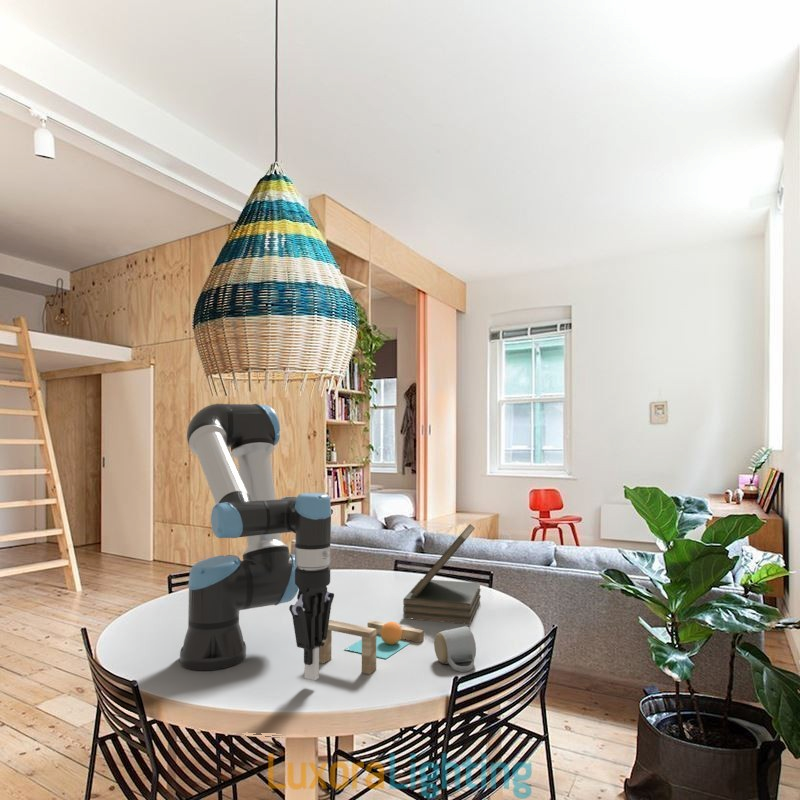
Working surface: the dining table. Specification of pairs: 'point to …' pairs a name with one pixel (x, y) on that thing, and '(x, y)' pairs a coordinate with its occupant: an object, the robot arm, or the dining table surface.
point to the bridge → (364, 632)
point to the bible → (443, 593)
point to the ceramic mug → (456, 647)
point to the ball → (391, 633)
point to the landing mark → (380, 648)
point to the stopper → (406, 632)
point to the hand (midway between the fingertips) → (311, 677)
